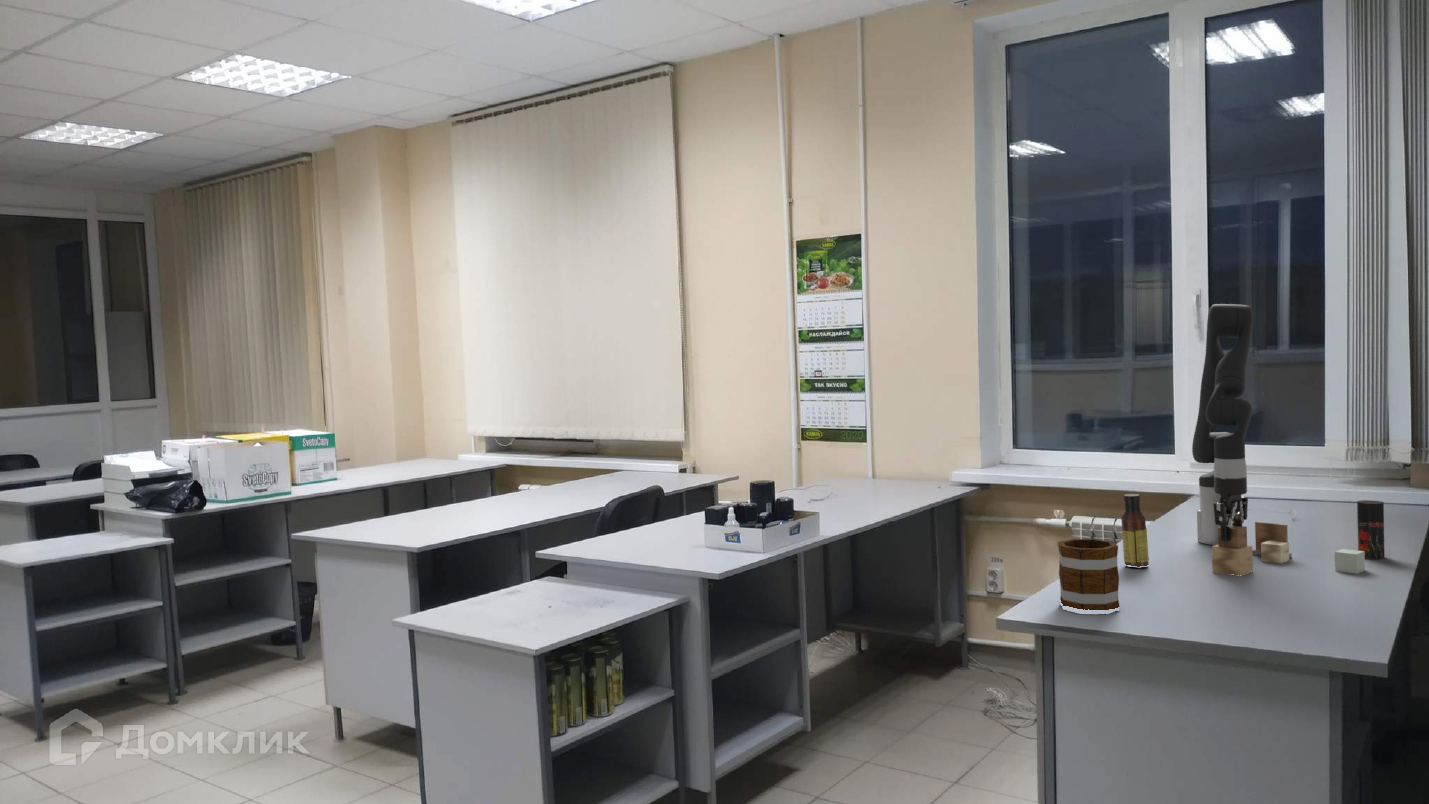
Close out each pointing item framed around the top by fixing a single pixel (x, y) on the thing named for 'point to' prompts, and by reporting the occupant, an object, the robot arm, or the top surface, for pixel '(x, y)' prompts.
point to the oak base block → (1232, 560)
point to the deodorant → (1371, 528)
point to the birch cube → (1275, 551)
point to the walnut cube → (1234, 537)
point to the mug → (1089, 574)
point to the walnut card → (1269, 535)
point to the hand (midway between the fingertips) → (1231, 538)
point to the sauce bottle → (1134, 533)
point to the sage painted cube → (1349, 561)
